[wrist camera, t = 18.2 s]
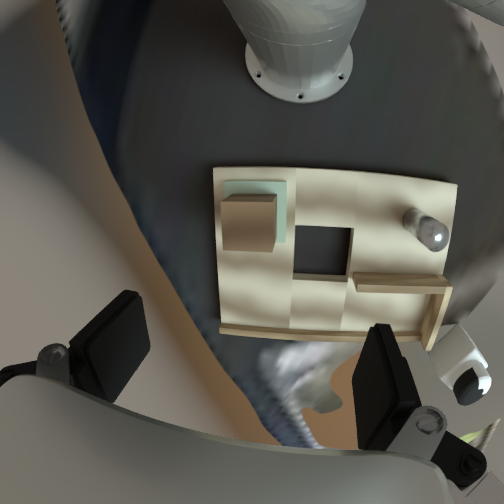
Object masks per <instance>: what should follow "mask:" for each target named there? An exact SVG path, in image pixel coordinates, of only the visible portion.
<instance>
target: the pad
mask: <svg viewBox="0 0 504 504" xmlns="http://www.w3.org/2000/svg"><path fill="white" fill-rule="evenodd" d="M231 194H277V238H276V243H285V242H286V212H287V181H247V180H231V181H224V196H225V198H227V197H228V196H230V195H231Z"/></svg>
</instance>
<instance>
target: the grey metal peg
mask: <svg viewBox="0 0 504 504" xmlns="http://www.w3.org/2000/svg"><path fill="white" fill-rule="evenodd" d="M402 222H403V226H404V228H405V229H406V230H407V231H408V232H410V233H411V234H412V235H413V236H414V237H415V238H416V239H418V240H419V241H420V242H421V243H422V244H423V245H424V246H425V247H426V248H428V249H429V250H430V251H432V252H439V251H441V250H443V249H444V248H445V247H446V246H447V244H448V241H449V230H448V228H447V227H446V225H444V224H443V223H441V222H439V221H438V220H436V219H435V218H433V217H431V216H430V215H428V214H426V213H425V212H423V211H421V210H419V209H418V208H410V209H408V210H407V211H406V212H405V213H404V215H403V219H402Z"/></svg>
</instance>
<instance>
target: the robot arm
mask: <svg viewBox="0 0 504 504" xmlns="http://www.w3.org/2000/svg"><path fill="white" fill-rule="evenodd" d="M449 1H451V2H453V3H455V4H457V5H460V6H462V7H464V8H466V9H468V10H470V11H472V12H474V13H476V14H478V15H480V16H482V17H484V18H486V19H488V20H490V21H492V22H494V23H496V24H499V25H501V26H504V0H449ZM223 2H224V3H225V5H226V7H227V8H228V10H229V11H230V13H231V14H232V16H233V18H234V20H235V22H236V23H237V25H238V27H239V28H240V30H241V32H242V33H243V35H244V37H245V39H246V40H247V45H246V49H245V61H246V66H247V68H248V71H249V73H250V75H251V77H252V78H253V80H254V81H255V82H256V84H257V85H258V86H259V87H260V88H261V89H263V90H264V91H265V92H266V93H268V94H270V95H271V96H273V97H275V98H277V99H280V100H282V101H286V102H290V103H299V104H306V103H315V102H318V101H322V100H325V99H327V98H329V97H331V96H333V95H334V94H335V93H337V92H338V91H339V90H340V89H341V88H342V87H343V86H344V85H345V83H346V82H347V80H348V78H349V76H350V74H351V71H352V66H353V54H352V50H351V47H350V44H349V43H350V41H351V38H352V36H353V34H354V32H355V29H356V27H357V25H358V22H359V20H360V17H361V15H362V13H363V10H364V8H365V5H366V0H223ZM258 75H261V77H260V78H258V77H257V76H258ZM338 77H342V78H343V79H342V80H340V79H339V78H338ZM300 95H301V96H302V97H303V98H302V99H299V98H298V96H300ZM69 344H70V347H69V348H68V349H67V347H66V346H64V345H63V344H59V343H55V344H50V345H48V346H46V347H44V348H43V349H42V350H41V351H40V352H39V354H38V357H37V360H36V361H31V362H26V363H21V364H16V365H11V366H7V367H4V368H3V369H2V370H1V371H0V504H504V485H503V484H502V483H501V481H500V480H499V479H498V478H497V477H496V476H495V475H494V474H493V473H492V471H490V472H489V473H488V472H487V471H486V467H487V462H486V458H485V456H484V455H483V453H482V452H481V451H479V450H478V449H476V448H474V447H473V446H471V445H469V444H468V443H466V442H464V441H463V440H461V439H459V438H457V437H456V436H454V435H453V434H451V433H449V432H448V431H446V428H447V419H446V417H445V415H444V414H443V413H442V411H440V410H439V409H437V408H436V407H433V406H422V404H421V401H420V398H419V395H418V392H417V389H416V386H415V383H414V380H413V377H412V374H411V371H410V368H409V365H408V363H407V360H406V358H405V357H402V355H401V352H400V349H399V347H398V344H397V341H396V338H395V336H394V333H393V331H392V328H391V326H390V324H383V323H376V324H375V325H374V327H372V326H371V327H370V328H369V331H368V334H367V337H366V340H365V343H364V346H363V349H362V352H361V354H360V358H359V360H358V363H357V365H356V368H355V371H354V373H353V377H352V386H353V396H354V405H355V415H356V425H357V438H358V448H359V449H360V450H327V449H310V448H296V447H286V446H277V445H268V444H261V443H255V442H248V441H242V440H237V439H231V438H226V437H221V436H217V435H212V434H208V433H203V432H199V431H195V430H191V429H187V428H184V427H180V426H177V425H173V424H169V423H166V422H163V421H160V420H156V419H153V418H150V417H147V416H144V415H141V414H139V413H136V412H133V411H130V410H128V409H125V408H122V407H120V406H117V405H115V404H112V403H114V402H115V400H116V399H117V397H118V396H119V394H120V393H121V391H122V390H123V388H124V387H125V386H126V384H127V383H128V381H129V380H130V378H131V377H132V375H133V374H134V373H135V371H136V370H137V368H138V367H139V365H140V364H141V362H142V361H143V360H144V358H145V357H146V355H147V354H148V352H149V350H150V340H149V335H148V330H147V325H146V319H145V313H144V308H143V301H142V297H141V296H139V294H138V292H136V291H130V290H124V291H122V292H121V293H120V294H119V295H118V296H117V297H116V298H115V299H114V300H113V301H111V302H110V303H109V304H108V305H107V306H106V307H105V308H104V309H103V310H102V311H101V312H99V314H98V315H96V316H95V317H94V318H93V319H92V320H91V321H90V322H89V323H88V324H87V325H86V326H85V327H84V328H83V329H82V330H81V331H79V332H78V334H77V335H75V336H74V337H73V338H72V339H71V340H70V341H69ZM361 449H362V450H361Z"/></svg>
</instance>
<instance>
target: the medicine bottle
mask: <svg viewBox="0 0 504 504" xmlns="http://www.w3.org/2000/svg"><path fill="white" fill-rule="evenodd" d="M428 354H429V356H430V358H431V360H432V362H433V364H434V366H435V369H436V371H437V373H438V376H439V378H440V380H442V381H443V382H444V383H445V384H446V385H447V386H449V388H450V389H451V390H453V391H454V394H455V396H456V398H457V401H458V403H459V404H460V405H464V406H465V405H470V404H472V403H474V402H476V401H478V400H479V399H480V398H482V397H483V396H484V395H485V393H486V392H487V391H488V389H489V388H490V385H491V378H490V376H489V374H488V372H487V371H486V368H487V367H488V364H487V362H486V361H485V359H484V358H483V356H482V354H481V353H480V351H479V350H478V348H477V347H476V345H475V344H474V342H473V341H472V340H471V338H470V337H469V335H468V334H467V333H466V331H465V330H464V329H463V328H462V326H461V325H460V324H459V323H458V324H457V325H456V326H454V327H453V328H452V330H450V331H449V332H448V333H447V334H446V335H445V336H444V337H443V338H442V339H441V340H439V341H438V342H437V343H436V344H435V345H434V346H433V347H432V349H431V351H428Z"/></svg>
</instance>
